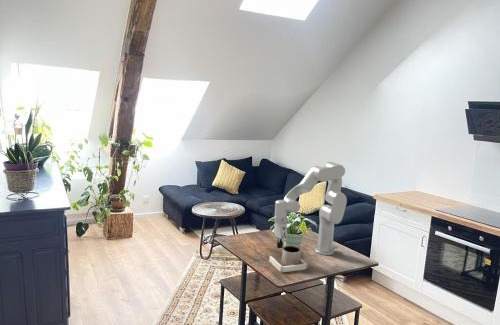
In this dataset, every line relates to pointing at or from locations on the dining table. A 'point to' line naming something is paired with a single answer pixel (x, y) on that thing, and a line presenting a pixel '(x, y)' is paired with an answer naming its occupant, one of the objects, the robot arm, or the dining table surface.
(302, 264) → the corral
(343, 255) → the dining table surface
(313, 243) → the dining table surface
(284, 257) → the planter
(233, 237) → the dining table surface
